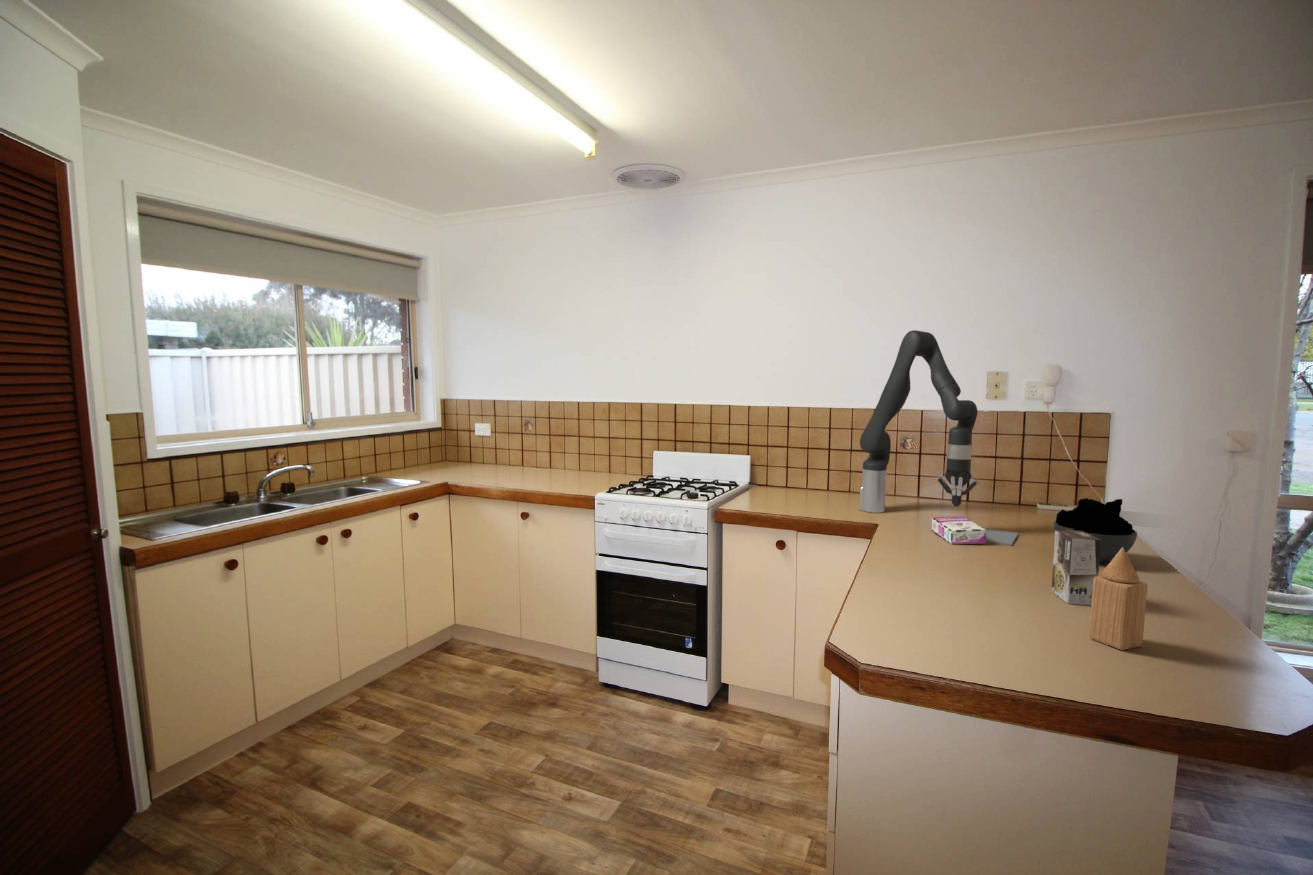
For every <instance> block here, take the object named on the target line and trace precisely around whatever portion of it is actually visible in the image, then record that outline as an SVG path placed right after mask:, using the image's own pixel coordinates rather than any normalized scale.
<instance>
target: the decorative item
mask: <svg viewBox="0 0 1313 875" xmlns="http://www.w3.org/2000/svg"><path fill="white" fill-rule="evenodd" d="M1147 596H1148V583H1146V582H1144V581H1141V580H1140V576H1139V575H1138V573H1137V571H1136V570H1135V568H1134V565H1133V564H1132V561H1131V560H1130V558H1129V556H1128V554H1127V553H1126V552H1125V550H1124V548H1123V547H1122V548H1121V550H1120V551H1119V552H1118V553H1117V554H1116V556H1115V557H1114V558H1113V559H1112V560H1110V562H1109V563H1108V565H1106V567H1105V568H1104V569H1103V571H1101V575H1098V577H1095V578H1094V581H1093V593H1092V605H1090V606H1091V607H1090V608H1091V609H1090V610H1091V611H1090V620H1089V622H1090V623H1089V633H1088V637H1089V638H1090V639H1091V640H1094V641H1097V642H1100V643H1101V644H1104V645H1107V646H1109V645H1110V647H1111V646H1112V648H1114V647H1115V649H1116V648H1117V649H1116V650H1119V649H1120V650H1119V651H1126V649H1127V650H1131V649H1135V648H1138V647H1141V646H1142V645H1143V644H1144V642H1143V641H1144V630H1145V620H1146V608H1147V599H1148V598H1147Z"/></svg>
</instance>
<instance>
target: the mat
mask: <svg viewBox="0 0 1313 875" xmlns="http://www.w3.org/2000/svg"><path fill="white" fill-rule="evenodd" d="M983 528H984V529H986V535H985V543H991V544H997V545H1003V546H1011V547H1012V546H1013V544H1014V542H1015V540H1016V539H1017V538H1018V536H1019V532H1016V531H1008V530H1000V529H993V528H985V527H983Z"/></svg>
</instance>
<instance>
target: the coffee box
mask: <svg viewBox="0 0 1313 875" xmlns="http://www.w3.org/2000/svg"><path fill="white" fill-rule="evenodd" d="M1053 545H1054V546H1053V557H1052V558H1053V560H1052V561H1053V562H1052V574H1051V575H1052V576H1051V577H1052V578H1051V580H1052V581H1051V592H1052V591H1053V592H1054V593H1055V594H1054V593H1053V592H1052V593H1053V594H1054V595H1056V596H1057V595H1058V596H1059V598H1060V599H1062V600H1063V601H1064V602H1065V603H1067V604H1069V605H1070V604H1071V605H1082V606H1092V593H1093V581H1094V578H1095V577H1098V576H1099V572H1100V571H1099V569H1100V562H1099V561H1100V549H1101V539H1099V538H1096V537H1094V536H1092V535H1090V534H1088V533H1086V532H1083V531H1075V530H1055V531H1054V544H1053ZM1058 596H1057V597H1058Z"/></svg>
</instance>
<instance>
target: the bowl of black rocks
mask: <svg viewBox="0 0 1313 875" xmlns="http://www.w3.org/2000/svg"><path fill="white" fill-rule="evenodd" d="M1122 504H1123V499H1122V498H1117V499H1114V500H1112V501H1107V502H1105V503H1102V502H1101V501H1098V500H1095V499H1093V498H1091V499H1089V498H1087V497H1085V498H1081V499H1079V500H1078V501H1077V506H1076V507H1074V508H1073V509H1070V510H1065V509H1061V510H1060V511H1059V512H1058V513H1056V520H1055V521H1054V522H1053V529H1054V532H1055V530H1075V531H1083V532H1086V533H1088V534H1090V535H1092V536H1094V537H1096V538H1099V539H1101V549H1100V561H1099V563H1101V562H1108V561H1112V559H1113V558H1114V557H1115V556H1116V554H1117V553H1118V552H1119V551H1120V550H1121V548H1122V547H1123V548H1124V550H1125V552H1126V554H1127V553H1129V551H1130V550H1131V549H1132V548H1133V546H1134V544H1135V543H1136V542H1137V538H1138V532H1137V530H1135V529H1133V528H1134V527H1133V525H1132V523H1130V522H1129V521H1128V520H1126V519H1125V518H1123V517H1122V516H1120V515H1121V511H1122Z"/></svg>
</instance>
